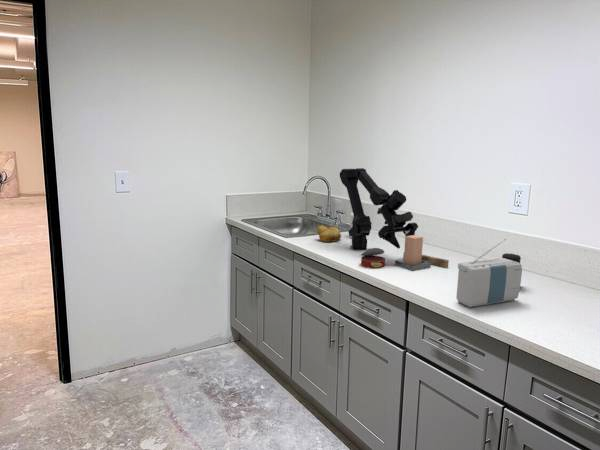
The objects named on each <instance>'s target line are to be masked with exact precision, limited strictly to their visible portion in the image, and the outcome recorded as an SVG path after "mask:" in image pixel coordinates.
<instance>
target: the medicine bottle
mask: <svg viewBox="0 0 600 450" xmlns="http://www.w3.org/2000/svg"><path fill="white" fill-rule="evenodd" d="M501 258H505V259H508V260H512V261H515V262H518V263H520V264H521V258H522V257H521V256H520V255H519V254H518V253H512V252H511V253H510V252H506V253H503V254H502V255H501ZM522 274H523V269H522V270H521V276H522ZM521 282H522V280H521V281H520V285H521V284H522V283H521Z"/></svg>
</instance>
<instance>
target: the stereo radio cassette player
mask: <svg viewBox="0 0 600 450" xmlns="http://www.w3.org/2000/svg"><path fill="white" fill-rule="evenodd" d="M506 240H507V239H506V238H504V239H503V240H502V241H500V242H498V243H497V244H496V245H495V246H493V247H492V248H490V249H489V250H487V251H486V252H484V253H483V254H482V255H480V256H479V257H477V258H476V259H475V260H473V261H465V262H464V261H463V262H458V263H457V269H458V273H457V276H458V277H457V286H456V287H457V288H456V301H457V302H459V303H461V304H462V305H464V306H466V307H468V308H469V307H471V308H474V307H480V306H486V305H493V304H498V303H503V302H510V301H511V302H512V301H514V300H516V299H518V297H519V294H520V288H521V284H520V281H521V282H522V275H521V270H522V271H523V267H522V263H521V262H520V263H518V262H515V261H512V260H508V259H505V258H502V257H500V258H492V259H491V258H490V259H484V260H483V259H482V260H480V259H481V258H483V257H484V256H485V255H487V254H488V253H490V252H491V251H492V250H493V249H495V248H496V247H497V246H499V245H501V244H502V243H503V242H504V241H506Z"/></svg>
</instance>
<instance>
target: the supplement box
mask: <svg viewBox="0 0 600 450" xmlns="http://www.w3.org/2000/svg"><path fill="white" fill-rule="evenodd" d="M353 218H354V215H353V212H350V220H349V221H350V222H349V223H350V224H349V230H350V229H351V228H352V226H353V225H352V221H353ZM349 238H350V239H351V240H352V236H349Z"/></svg>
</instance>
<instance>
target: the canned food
mask: <svg viewBox="0 0 600 450" xmlns="http://www.w3.org/2000/svg"><path fill="white" fill-rule="evenodd" d="M384 253H385V250H384V249H382V248H379V247H373V248H367V249H365V251H364V252H362V253H361V255H360V256H361V257H360V258H361V259H360V261H361V262H360V265H361V266H362V267H363V268H367V267H369V268H368V269H383V268H384V266H385V267H386V258H385V257H383V256H380V255H383V254H384ZM382 267H383V268H382Z"/></svg>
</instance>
